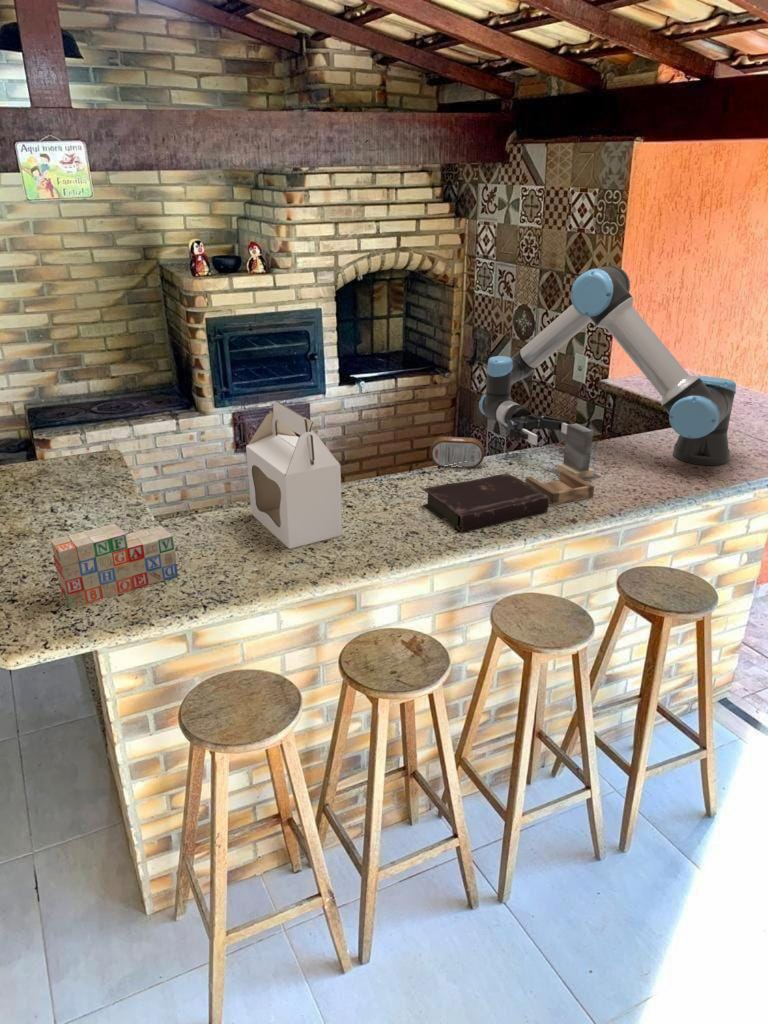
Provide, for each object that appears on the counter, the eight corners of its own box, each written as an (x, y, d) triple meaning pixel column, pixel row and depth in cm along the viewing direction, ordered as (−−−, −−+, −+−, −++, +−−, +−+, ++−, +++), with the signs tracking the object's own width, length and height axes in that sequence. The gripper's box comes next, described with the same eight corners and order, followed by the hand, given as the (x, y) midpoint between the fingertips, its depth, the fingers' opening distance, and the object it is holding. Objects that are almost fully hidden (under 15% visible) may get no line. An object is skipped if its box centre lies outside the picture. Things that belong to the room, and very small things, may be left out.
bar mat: (578, 466, 212) (578, 465, 212) (601, 478, 204) (601, 477, 203) (548, 471, 208) (548, 470, 208) (571, 484, 200) (571, 482, 200)
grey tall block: (575, 467, 210) (579, 422, 205) (593, 477, 204) (599, 430, 198) (557, 470, 208) (561, 425, 203) (575, 480, 201) (580, 433, 196)
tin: (483, 465, 213) (485, 437, 209) (483, 469, 210) (485, 440, 206) (429, 463, 214) (430, 435, 211) (429, 467, 211) (430, 439, 208)
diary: (548, 515, 184) (550, 496, 182) (461, 536, 173) (462, 516, 171) (502, 488, 199) (504, 470, 197) (420, 506, 188) (420, 487, 186)
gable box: (343, 536, 172) (340, 416, 160) (289, 550, 165) (282, 426, 154) (300, 502, 189) (295, 392, 177) (250, 514, 183) (241, 400, 171)
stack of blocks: (167, 565, 159) (160, 511, 154) (178, 577, 154) (171, 522, 149) (61, 595, 148) (49, 538, 143) (69, 609, 143) (58, 551, 138)
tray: (563, 482, 201) (565, 470, 200) (592, 498, 191) (594, 486, 190) (525, 489, 197) (526, 477, 195) (552, 506, 187) (553, 494, 185)
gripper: (547, 423, 234) (591, 443, 217) (477, 433, 225) (517, 456, 207) (549, 399, 231) (594, 418, 214) (479, 409, 222) (519, 429, 204)
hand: (556, 437), depth 210 cm, fingers open, 13 cm apart
